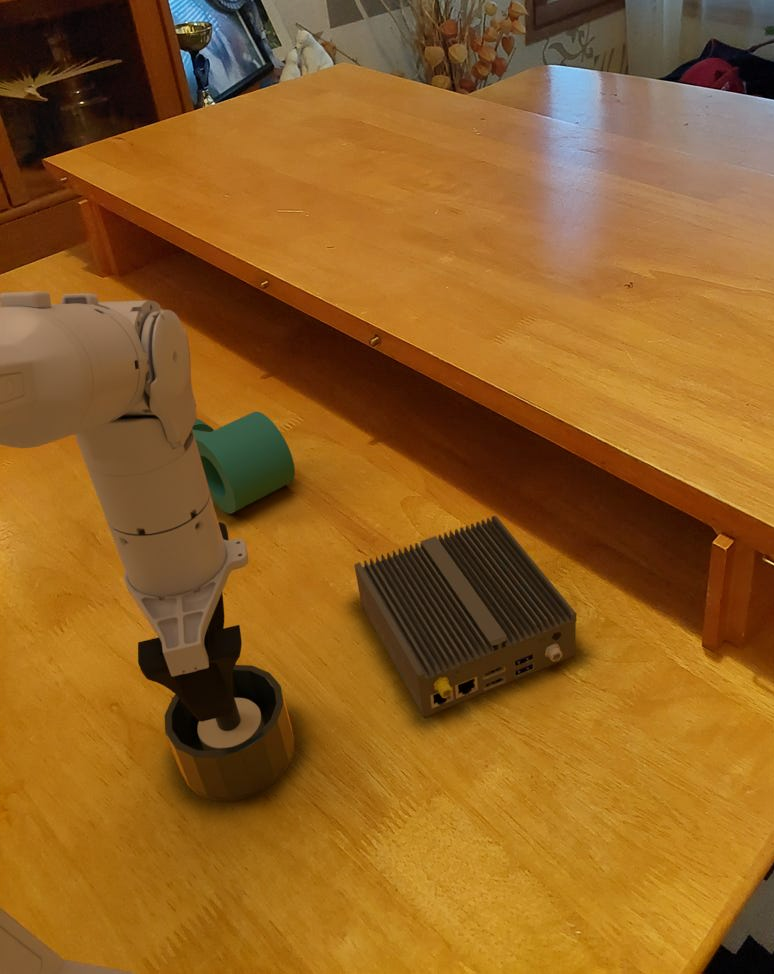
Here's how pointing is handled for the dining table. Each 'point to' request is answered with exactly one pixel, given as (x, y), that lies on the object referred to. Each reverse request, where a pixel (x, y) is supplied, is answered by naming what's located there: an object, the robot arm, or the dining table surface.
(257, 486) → the tape dispenser
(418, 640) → the electronic device
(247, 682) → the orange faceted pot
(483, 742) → the dining table surface
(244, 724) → the brush
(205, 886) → the dining table surface
